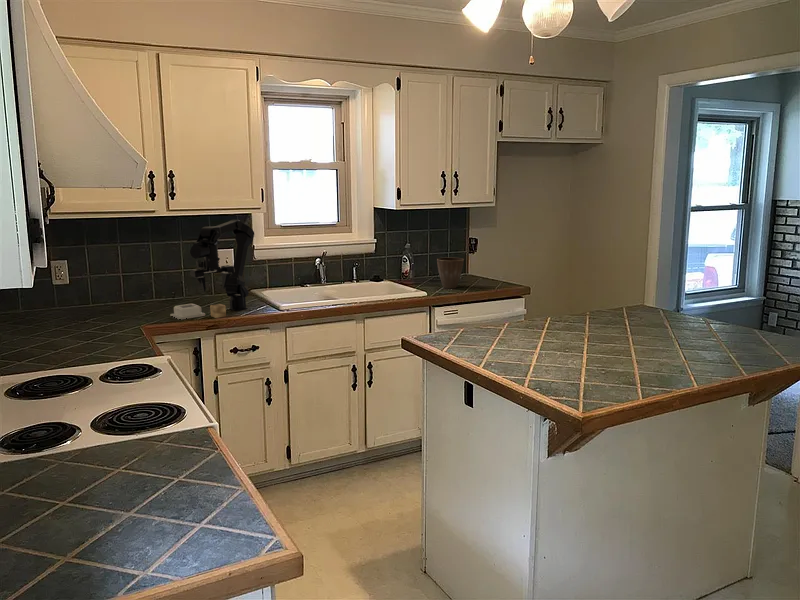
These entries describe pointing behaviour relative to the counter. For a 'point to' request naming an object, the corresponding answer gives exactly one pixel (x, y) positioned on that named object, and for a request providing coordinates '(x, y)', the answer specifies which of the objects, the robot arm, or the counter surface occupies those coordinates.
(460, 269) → the plant pot
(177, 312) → the base
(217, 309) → the block
